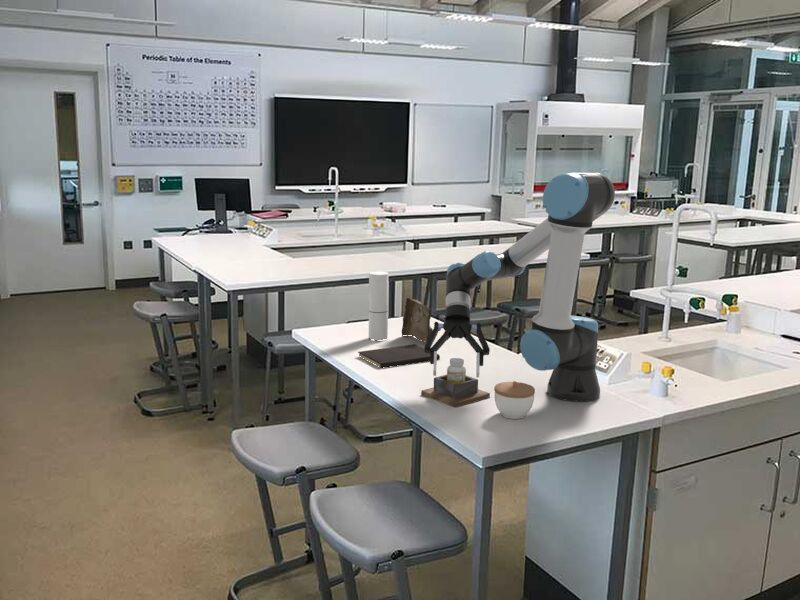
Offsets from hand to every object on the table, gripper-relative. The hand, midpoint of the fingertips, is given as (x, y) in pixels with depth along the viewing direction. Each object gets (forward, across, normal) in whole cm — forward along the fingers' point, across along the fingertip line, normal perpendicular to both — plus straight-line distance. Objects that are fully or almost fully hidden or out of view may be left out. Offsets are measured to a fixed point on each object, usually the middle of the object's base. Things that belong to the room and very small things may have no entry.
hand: (456, 374), depth 210 cm
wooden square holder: (+3, 0, -7) cm, 8 cm away
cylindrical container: (-41, +29, -52) cm, 72 cm away
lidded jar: (+13, -16, +3) cm, 21 cm away
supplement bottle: (+2, 0, -6) cm, 7 cm away
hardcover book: (-23, +19, -34) cm, 45 cm away
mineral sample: (-41, +14, -51) cm, 67 cm away
